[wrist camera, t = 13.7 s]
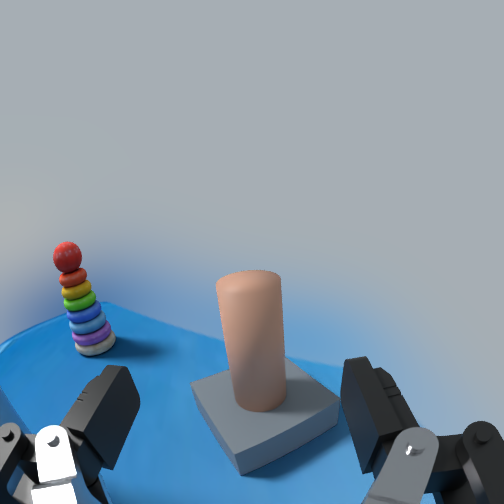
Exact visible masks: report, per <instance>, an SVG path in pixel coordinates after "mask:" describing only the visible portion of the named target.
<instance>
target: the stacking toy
mask: <svg viewBox="0 0 504 504" xmlns="http://www.w3.org/2000/svg"><path fill="white" fill-rule="evenodd" d="M53 260H54V264H55V266H56V267H57V269H58V270H59V271H61V272H63V273H62V274H61V275H60V278H59V282H60V284H61V285H62V286H64V287H63V289H62V295H63V297H64V298H65V300H64V306H65V308H66V309H67V317H68V319H69V320H70V323H69V325H70V328H71V330H72V331H73V333H72V337H73V339H74V341H75V346H76V349H77V351H78V352H79V353H81V354H83V355H88V356H91V355H97V354H101V353H103V352H105V351H107V350H108V349H110V348H111V347H112V346H113V344H114V342H115V339H116V337H115V334H114V332H113V331H112V330H111V326H110V324H109V322H108V321H107V320H106V315H105V313H104V312H103V311H102V310H101V305H100V303H99V302H98V301H97V300H96V295H95V293H94V292H93V291H92V290H91V283H90V282H89V281H88V280H86V277H87V273H86V271H85V270H84V269H83V268H79V266H80V264H81V261H82V255H81V251H80V249H79V247H78V246H77V245H76V244H74V243H72V242H63V243H61V244H59V245H58V246H57V247H56V249H55V251H54V254H53Z"/></svg>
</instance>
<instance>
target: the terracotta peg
mask: <svg viewBox="0 0 504 504" xmlns="http://www.w3.org/2000/svg"><path fill="white" fill-rule="evenodd" d="M216 289H217V296H218V303H219V309H220V315H221V322H222V328H223V334H224V340H225V346H226V352H227V357H228V363H229V369H230V374H231V380H232V385H233V390H234V395H235V400H236V402H237V404H238V405H239V406H240V407H241V408H243V409H245V410H248V411H252V412H265V411H269V410H272V409H275V408H276V407H278V406H279V405H281V404H282V403H283V401H284V400H285V398H286V372H285V350H284V330H283V311H282V294H281V278H280V277H279V275H277V274H276V273H273V272H270V271H263V270H248V271H241V272H236V273H232V274H229V275H226V276H224V277H222V278H221V279H219V280H218V281H217V283H216Z"/></svg>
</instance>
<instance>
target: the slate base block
mask: <svg viewBox="0 0 504 504" xmlns="http://www.w3.org/2000/svg"><path fill="white" fill-rule="evenodd" d="M285 372H286V398H285V400H284V401H283V403H282V404H281V405H279V406H278V407H276V408H275V409H272V410H269V411H265V412H252V411H248V410H245V409H243V408H241V407H240V406H239V405H238V404H237V402H236V400H235V395H234V390H233V385H232V380H231V374H230V369H228V370H226V371H223V372H220V373H217V374H214V375H212V376H209V377H206V378H203V379H200V380H197V381H194V382H191V383H190V385H191V389H192V392H193V395H194V398H195V401H196V404H197V407H198V409H199V411H200V413H201V414H202V416H203V418H204V420H205V421H206V423H207V425H208V426H209V428H210V430H211V431H212V433H213V434H214V436H215V438H216V439H217V441H218V442H219V444H220V446H221V447H222V449H223V450H224V452H225V453H226V455H227V456H228V458H229V459H230V461H231V462H232V464H233V465H234V467H235V468H236V470H237V471H238V473H239V474H240V475H241V476H242V475H244V474H246V473H249V472H251V471H253V470H255V469H258V468H260V467H262V466H264V465H266V464H268V463H270V462H272V461H274V460H276V459H278V458H280V457H282V456H284V455H286V454H288V453H290V452H291V451H293V450H295V449H297V448H299V447H300V446H302V445H304V444H306V443H307V442H309V441H311V440H313V439H314V438H316V437H318V436H319V435H321V434H322V433H324V432H326V431H327V430H329V429H330V428H332V427H333V426H335V425H336V424H337V421H338V415H339V407H340V400H341V399H340V398H339V397H338V396H336V395H335V394H334V393H332V392H331V391H330V390H328V389H327V388H325V387H324V386H323V385H321V384H320V383H319V382H317V381H316V380H315V379H313V378H312V377H311V376H310V375H308V374H307V373H306V372H304V371H303V370H302V369H300V368H299V367H298V366H297V365H295V364H294V363H293V362H291V361H290V360H289V359H288V358H286V357H285Z"/></svg>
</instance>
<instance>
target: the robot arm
mask: <svg viewBox="0 0 504 504" xmlns="http://www.w3.org/2000/svg"><path fill="white" fill-rule="evenodd" d="M340 395H341V403H342V407H343V410H344V413H345V417H346V420H347V423H348V426H349V430H350V433H351V436H352V440H353V443H354V446H355V450H356V453H357V457H358V460H359V463H360V467H361V470H362V474H366V473H370V472H373V475H374V478H375V480H374V482H373V484H372V485H371V487H370V489H369V491H368V493H367V494H366V496H365V498H364V500H363V501H362V503H361V504H420V501H421V499H422V496H423V494H426V493H433V496H434V499H435V502H436V504H504V440H503V439H502V437H501V436H500V434H499V432H498V430H497V429H496V427H495V426H493V425H492V424H490V423H488V422H485V421H477V422H474V423H472V424H470V425H469V426H468V427H467V428H466V429H465V431H464V432H463V434H458V435H449V436H436V435H435V434H434V433H433V432H432V431H430V430H428V429H426V428H421V427H420V426H419V425H418V423H417V421H416V419H415V418H414V416H413V414H412V412H411V410H410V408H409V406H408V405H407V403H406V401H405V399H404V397H403V396H402V395H401V392H400V390H399V389H398V387H397V386H396V383H395V381H394V380H393V378H392V376H391V375H390V374H389V373H387V372H386V371H385V370H383V369H382V368H381V367H380V368H375V369H373V368H372V366H371V364H370V362H369V360H368V358H367V357H366V356H364V357H359V358H352V359H346V360H345V362H344V368H343V376H342V383H341V392H340ZM139 408H140V397H139V393H138V391H137V389H136V386H135V384H134V382H133V379H132V377H131V374H130V372H129V370H128V368H127V367H125V366H116V365H107V366H106V367H105V369H104V370H103V371H102V373H101V374H100V376H96V377H95V378H94V379H93V380H91V381H90V382H89V383H88V384H87V385H86V386H85V388H84V389H83V391H82V394H80V395H79V397H78V398H77V401H75V403H74V404H73V406H72V407H71V409H70V410H69V412H68V413H67V415H66V416H65V418H64V419H63V421H62V422H61V424H60V425H59V426H56V425H52V426H48V427H46V428H44V429H42V430H41V431H40V432H39V433H38V435H36V434H32V433H31V432H30V431H29V429H28V428H27V427H26V425H25V424H24V422H23V421H22V419H21V418H20V417H19V415H18V414H17V412H16V411H15V409H14V408H13V406H12V405H11V403H10V402H9V400H8V398H7V397H6V395H5V393H4V392H3V390H2V388H1V387H0V504H113V503H112V500H111V498H110V496H109V493H108V491H107V488H106V486H105V483H104V480H103V477H102V475H101V474H100V473H99V472H100V470H101V468H102V467H103V468H106V469H110V470H113V469H114V466H115V464H116V462H117V459H118V457H119V454H120V452H121V450H122V447H123V445H124V443H125V440H126V438H127V436H128V433H129V431H130V429H131V426H132V424H133V422H134V420H135V417H136V415H137V413H138V410H139ZM11 495H13V496H11Z"/></svg>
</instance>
